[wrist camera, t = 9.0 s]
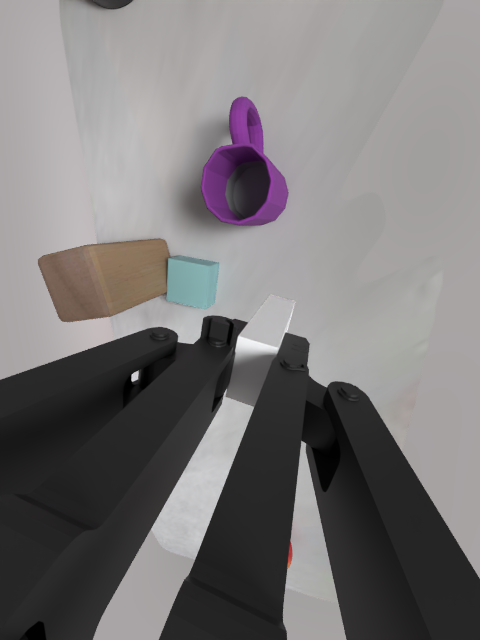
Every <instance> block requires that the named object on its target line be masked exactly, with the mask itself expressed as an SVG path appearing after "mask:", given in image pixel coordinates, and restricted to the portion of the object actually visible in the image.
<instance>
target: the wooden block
mask: <svg viewBox="0 0 480 640" xmlns="http://www.w3.org/2000/svg"><path fill="white" fill-rule="evenodd" d="M168 258H170V255H169V251H168V247H167V243H166V241H165V240H164V239H150V240H138V241H126V242H115V243H103V244H91V245H84V246H80V247H76V248H72V249H68V250H64V251H60V252H56V253H52V254H48V255H44V256H42V257H41V258H39V259H38V265H39V267H40V270H41V272H42V275H43V278H44V280H45V283H46V285H47V288H48V291H49V293H50V296H51V298H52V301H53V304H54V306H55V309H56V311H57V314H58V317H59V318H60V319H61V321H64V322H73V321H81V320H87V319H96V318H103V317H111V316H113V315H115V314H118V313H120V312H122V311H125V310H127V309H129V308H132V307H134V306H136V305H139V304H141V303H143V302H146V301H148V300H150V299H153V298H155V297H157V296H160V295H162V294H164V293H166V292H167V278H168Z"/></svg>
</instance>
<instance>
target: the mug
mask: <svg viewBox="0 0 480 640" xmlns="http://www.w3.org/2000/svg"><path fill="white" fill-rule="evenodd" d="M229 127H230V134H231V139H232V143H233V145H227V146H221V147H220V148H218V149H216V150H215V151H214V153H213V154H212V156H211V157H210V159H209V160H208V162H207V163H206V165H205V166H204V169H203V177H202V184H201V191H202V194H203V197H204V200H205V203H206V206H207V209H209V210H210V211H211V212H212V213H213V214H214V215H215V216H216V217H217V218H218V219H219V220H220V221H222V222H227V223H231V224H236V225H263V224H266V223H269V222H271V221H274V220H276V219H277V217H278V216H279V215H280V214H281V213H282V211H283V210H284V209H285V206H286V202H287V198H288V189H287V185H286V181H285V178H284V177H283V175H282V174H281V173H280V172H279V171H278V169H277V168H276V167H275V166H274V165H273V163H272V162H271V161H270V160H269V159H268V158H267V157H266V156H265V155H264V154H263V130H262V125H261V120H260V117H259V114H258V111H257V109H256V107H255V105H254V104H253V102H252V101H251V100H249V99H248V98H247V97H239V98H237V99H235V100H234V101H233V103H232V105H231V109H230V115H229Z"/></svg>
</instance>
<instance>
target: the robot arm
mask: <svg viewBox="0 0 480 640" xmlns="http://www.w3.org/2000/svg"><path fill="white" fill-rule="evenodd" d="M93 1H94V2H95V3H97V4H98V5H100V6H102V7H106V8H119V7H122V6H124V5H126V4H128V3H129V2H131V1H132V0H93ZM295 302H296V301H293V300H289V299H286V298H282V297H278V296H274V295H269V297H268V298H267V299H266V301H265V302H264V303H263V304H262V306H261V307H260V308H259V310H258V311H257V312H256V314H255V315H254V316H253V317H252V319H251V320H250V321H249V323H248V322H244V321H241V320H237V319H233V320H232V319H229V318H226V317H222V316H207V317H204V318H203V324H202V331H201V337H200V339H198V340H197V341H196V342H195V343H194V344H186V343H179V342H178V335H177V333H176V332H174V331H173V330H170V329H168V328H163V327H158V328H149V329H145V330H143V331H140V332H137V333H134V334H131V335H128V336H125V337H122V338H120V339H117V340H114V341H111V342H108V343H105V344H102V345H99V346H97V347H94V348H91V349H88V350H85V351H82V352H79V353H76V354H73V355H71V356H68V357H65V358H62V359H59V360H56V361H53V362H51V363H48V364H45V365H42V366H39V367H36V368H33V369H30V370H27V371H24V372H22V373H19V374H16V375H13V376H10V377H8V378H5V379H2V380H0V640H93V637H94V634H95V631H96V628H97V626H98V624H99V621H100V619H101V617H102V615H103V613H104V611H105V609H106V607H107V605H108V604H109V602H110V600H111V599H112V597H113V595H114V593H115V591H116V590H117V588H118V586H119V584H120V582H121V581H122V579H123V577H124V576H125V574H126V572H127V570H128V568H129V567H130V565H131V563H132V561H133V560H134V558H135V556H136V554H137V552H138V551H139V549H140V547H141V546H142V544H143V542H144V540H145V538H146V537H147V535H148V533H149V531H150V530H151V528H152V526H153V524H154V523H155V521H156V519H157V517H158V516H159V514H160V512H161V510H162V508H163V507H164V505H165V503H166V501H167V500H168V498H169V496H170V494H171V493H172V491H173V489H174V487H175V485H176V484H177V482H178V480H179V478H180V477H181V475H182V473H183V471H184V470H185V468H186V466H187V464H188V463H189V461H190V459H191V457H192V455H193V454H194V452H195V450H196V448H197V447H198V445H199V443H200V441H201V440H202V438H203V436H204V434H205V433H206V431H207V429H208V427H209V425H210V424H211V422H212V420H213V418H214V417H215V415H216V413H217V411H218V410H219V408H220V406H221V404H222V400H223V395H224V392H225V390H226V389H227V393H226V397H228V398H231V399H234V400H237V401H239V402H242V403H245V404H248V405H251V406H254V410H253V412H252V415H251V417H250V420H249V422H248V425H247V428H246V430H245V433H244V435H243V438H242V440H241V443H240V446H239V448H238V451H237V453H236V456H235V459H234V461H233V464H232V466H231V469H230V471H229V474H228V477H227V479H226V482H225V484H224V487H223V490H222V492H221V495H220V497H219V500H218V502H217V505H216V508H215V510H214V513H213V515H212V518H211V521H210V523H209V526H208V528H207V531H206V533H205V536H204V539H203V541H202V544H201V546H200V549H199V552H198V554H197V557H196V559H195V562H194V564H193V567H192V569H191V571H190V573H189V575H188V576H187V577H186V579H185V580H184V582H183V584H182V586H181V588H180V590H179V592H178V594H177V597H176V599H175V601H174V604H173V606H172V609H171V611H170V613H169V616H168V618H167V621H166V623H165V626H164V628H163V631H162V633H161V636H160V638H159V640H287V633H286V629H285V626H284V624H283V602H284V594H285V584H286V575H287V566H288V557H289V548H290V539H291V530H292V521H293V512H294V503H295V493H296V484H297V475H298V466H299V457H300V448H301V440H302V441H303V442H305V443H306V454H307V458H308V463H309V468H310V472H311V477H312V482H313V486H314V491H315V495H316V500H317V505H318V509H319V514H320V519H321V523H322V528H323V533H324V537H325V542H326V547H327V551H328V556H329V560H330V565H331V570H332V574H333V579H334V584H335V588H336V593H337V598H338V602H339V607H340V611H341V616H342V620H343V625H344V630H345V635H346V639H347V640H480V579H479V577H478V575H477V574H476V572H475V570H474V569H473V567H472V565H471V564H470V562H469V561H468V559H467V557H466V556H465V554H464V552H463V551H462V549H461V548H460V546H459V544H458V543H457V541H456V539H455V538H454V536H453V535H452V533H451V531H450V530H449V528H448V526H447V525H446V523H445V521H444V520H443V518H442V517H441V515H440V513H439V512H438V510H437V508H436V507H435V505H434V503H433V502H432V500H431V499H430V497H429V495H428V494H427V492H426V491H425V489H424V487H423V486H422V484H421V482H420V481H419V479H418V477H417V476H416V474H415V472H414V471H413V469H412V468H411V466H410V464H409V463H408V461H407V459H406V458H405V456H404V455H403V453H402V451H401V450H400V448H399V446H398V445H397V443H396V441H395V440H394V438H393V436H392V435H391V433H390V432H389V430H388V428H387V427H386V425H385V423H384V422H383V420H382V419H381V417H380V415H379V414H378V412H377V410H376V409H375V407H374V405H373V404H372V402H371V401H370V399H369V397H368V396H367V395H366V394H365V393H364V392H363V391H362V390H360V389H359V388H358V387H356V386H353V385H352V384H350V383H345V382H338V381H335V382H331V383H330V384H329V385H328V387H327V388H326V387H324V386H322V385H321V384H319V383H317V382H316V381H314V380H313V379H312V378H311V377H310V376H309V369H308V367H307V362H308V353H309V345H310V344H309V342H308V341H307V339H306V338H303V337H300V336H296V335H293V334H289V333H287V330H288V327H289V323H290V320H291V316H292V312H293V309H294V305H295ZM138 370H139V376H138V380H136V381H134V382H132V381H131V375H132V374H133V373H134V372H136V371H138ZM227 387H228V388H227Z"/></svg>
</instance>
